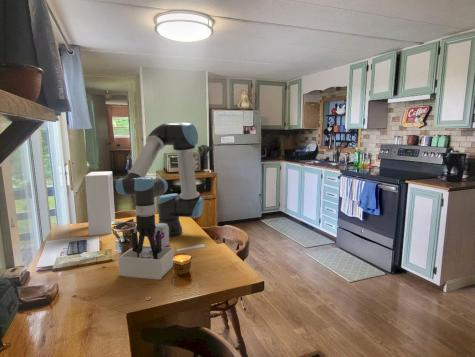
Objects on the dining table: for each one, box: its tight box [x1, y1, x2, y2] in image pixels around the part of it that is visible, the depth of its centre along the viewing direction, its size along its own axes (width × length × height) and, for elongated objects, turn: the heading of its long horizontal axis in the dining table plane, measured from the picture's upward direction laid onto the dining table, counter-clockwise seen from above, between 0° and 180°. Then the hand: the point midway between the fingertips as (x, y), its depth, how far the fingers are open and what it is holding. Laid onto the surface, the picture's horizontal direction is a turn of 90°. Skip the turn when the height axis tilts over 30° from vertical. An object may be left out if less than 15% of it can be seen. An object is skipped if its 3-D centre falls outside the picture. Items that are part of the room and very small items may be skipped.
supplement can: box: [154, 222, 171, 248], centre depth 144 cm, size 8×8×15 cm
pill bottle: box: [142, 248, 153, 259], centre depth 128 cm, size 5×5×8 cm
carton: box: [117, 245, 175, 281], centre depth 128 cm, size 14×19×8 cm
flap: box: [109, 255, 158, 260], centre depth 117 cm, size 7×16×1 cm, turn 79°
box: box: [84, 170, 116, 236], centre depth 185 cm, size 22×12×35 cm, turn 17°
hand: (147, 267), depth 128 cm, fingers closed on pill bottle, 5 cm apart
